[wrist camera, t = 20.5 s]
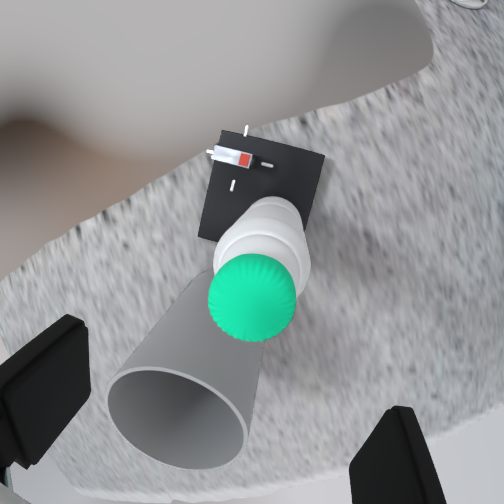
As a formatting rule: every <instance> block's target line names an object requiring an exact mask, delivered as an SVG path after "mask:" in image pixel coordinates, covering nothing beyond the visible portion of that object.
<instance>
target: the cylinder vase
mask: <svg viewBox="0 0 504 504" xmlns="http://www.w3.org/2000/svg"><path fill="white" fill-rule="evenodd" d="M214 276H215V275H214V269H211V270H208V271H205V272H203V273H201V274H199V275H198V276H197V277H195V278H194V279H193V280H192V281H191V283H190V284H189V285H188V286H187V287H186V289H185V290H184V291H183V292H182V293H181V295H180V296H179V297H178V298H177V299H176V301H175V302H174V303H173V304H172V305H171V307H170V308H169V309H168V310H167V311H166V313H165V314H164V315H163V316H162V318H161V319H160V320H159V321H158V322H157V324H156V325H155V326H154V327H153V328H152V330H151V331H150V332H149V333H148V335H147V336H146V337H145V338H144V340H143V341H142V342H141V343H140V344H139V346H138V347H137V348H136V349H135V351H134V352H133V353H132V354H131V356H130V357H129V358H128V359H127V361H126V362H125V363H124V364H123V366H122V367H121V368H120V369H119V371H118V372H117V373H116V374H115V376H114V377H113V378H112V379H111V381H110V382H109V384H108V385H107V388H106V391H105V396H104V403H105V409H106V412H107V415H108V417H109V419H110V421H111V423H112V425H113V427H114V428H115V429H116V431H117V432H118V433H119V435H120V436H121V437H122V438H123V439H124V440H125V441H126V442H127V443H128V444H129V445H131V446H132V447H133V448H134V449H136V450H137V451H138V452H140V453H141V454H143V455H145V456H146V457H148V458H150V459H152V460H154V461H156V462H158V463H161V464H163V465H166V466H169V467H172V468H176V469H181V470H187V471H212V470H217V469H221V468H224V467H226V466H228V465H230V464H232V463H234V462H235V461H236V460H238V459H239V458H240V457H241V455H242V454H243V453H244V451H245V449H246V447H247V443H248V437H249V431H250V426H251V420H252V414H253V408H254V402H255V396H256V390H257V384H258V378H259V371H260V365H261V359H262V352H263V346H264V341H258V342H253V341H250V342H247V341H246V340H244V341H241V340H240V339H239V338H237V339H235V338H234V337H233V336H230V335H228V334H227V332H224V331H222V328H221V327H218V326H217V323H216V322H214V321H213V317H212V316H211V315H210V309H209V308H208V303H209V302H208V296H209V288H210V285H211V282H212V280H213V278H214Z"/></svg>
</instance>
